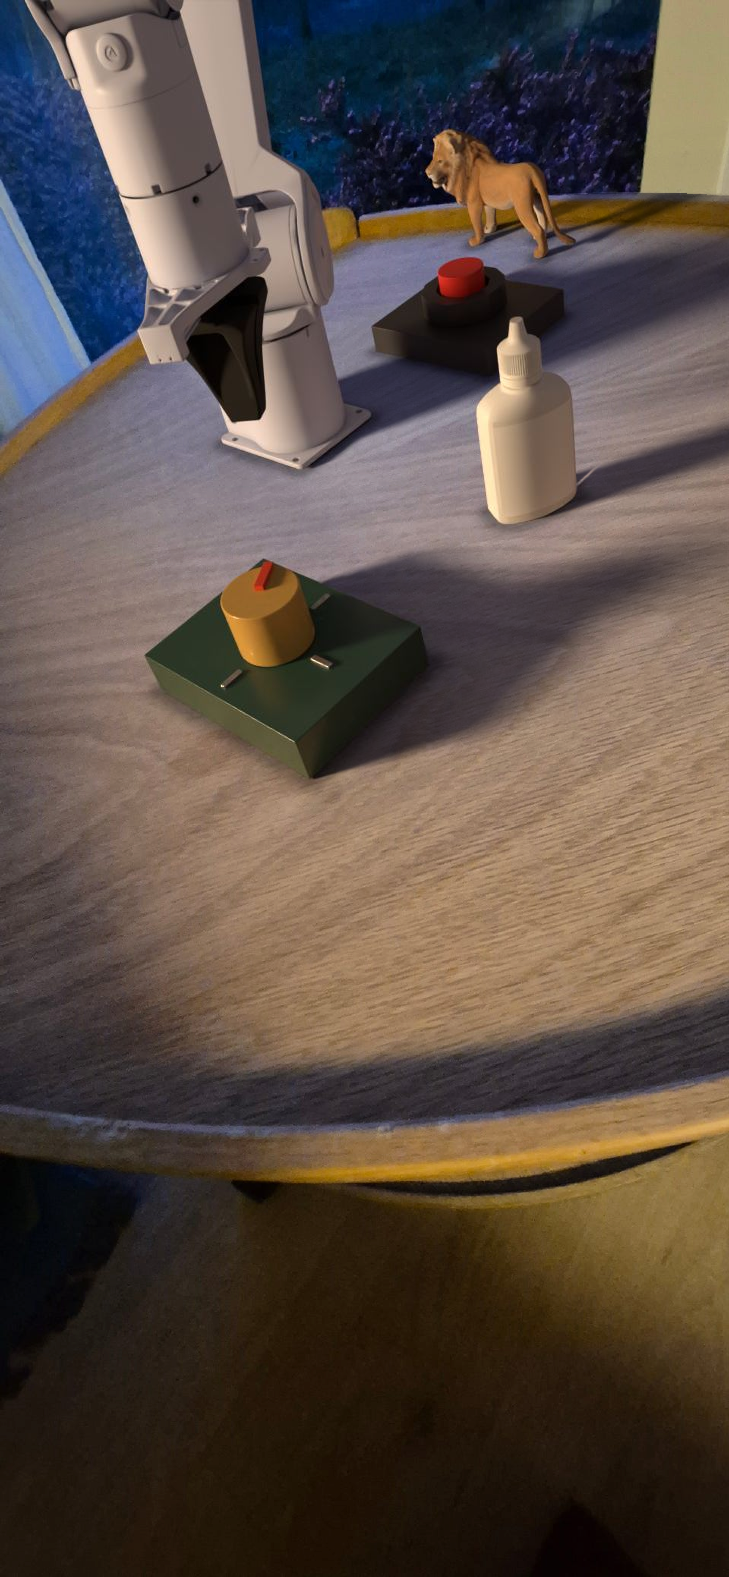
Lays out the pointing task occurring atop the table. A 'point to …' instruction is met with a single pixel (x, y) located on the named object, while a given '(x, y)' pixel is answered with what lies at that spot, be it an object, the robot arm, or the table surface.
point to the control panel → (294, 676)
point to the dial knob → (268, 615)
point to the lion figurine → (492, 187)
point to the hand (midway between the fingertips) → (248, 415)
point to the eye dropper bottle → (526, 434)
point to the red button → (461, 277)
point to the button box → (466, 323)
